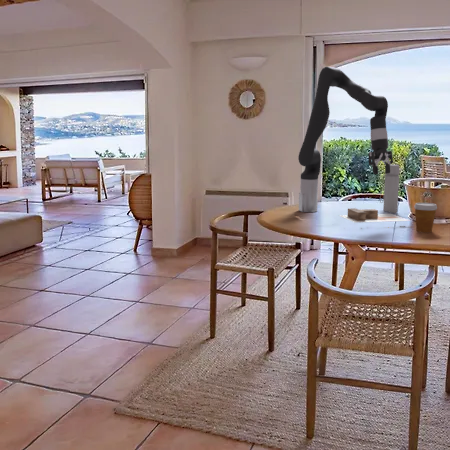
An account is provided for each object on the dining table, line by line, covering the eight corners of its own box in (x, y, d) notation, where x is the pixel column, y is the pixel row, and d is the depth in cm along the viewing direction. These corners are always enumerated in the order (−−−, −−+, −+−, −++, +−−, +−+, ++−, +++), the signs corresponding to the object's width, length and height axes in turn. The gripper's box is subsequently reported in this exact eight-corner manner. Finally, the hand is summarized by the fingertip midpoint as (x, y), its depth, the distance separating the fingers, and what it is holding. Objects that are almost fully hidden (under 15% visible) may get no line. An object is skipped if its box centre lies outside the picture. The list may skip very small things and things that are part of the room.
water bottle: (397, 211, 292) (400, 164, 287) (397, 214, 285) (399, 165, 280) (379, 210, 295) (382, 164, 290) (378, 213, 288) (381, 165, 283)
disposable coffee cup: (409, 229, 244) (410, 202, 242) (429, 228, 245) (431, 202, 243) (418, 233, 235) (419, 205, 233) (439, 233, 236) (441, 205, 234)
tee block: (357, 220, 258) (357, 212, 258) (347, 216, 270) (347, 208, 269) (381, 220, 260) (381, 211, 260) (370, 215, 272) (370, 207, 271)
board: (354, 225, 254) (354, 222, 254) (338, 217, 274) (338, 215, 273) (410, 223, 259) (410, 220, 259) (390, 216, 278) (391, 213, 278)
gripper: (382, 139, 262) (385, 173, 263) (362, 140, 254) (365, 175, 255) (395, 137, 256) (398, 172, 257) (375, 138, 248) (378, 173, 249)
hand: (381, 173), depth 256 cm, fingers open, 8 cm apart
